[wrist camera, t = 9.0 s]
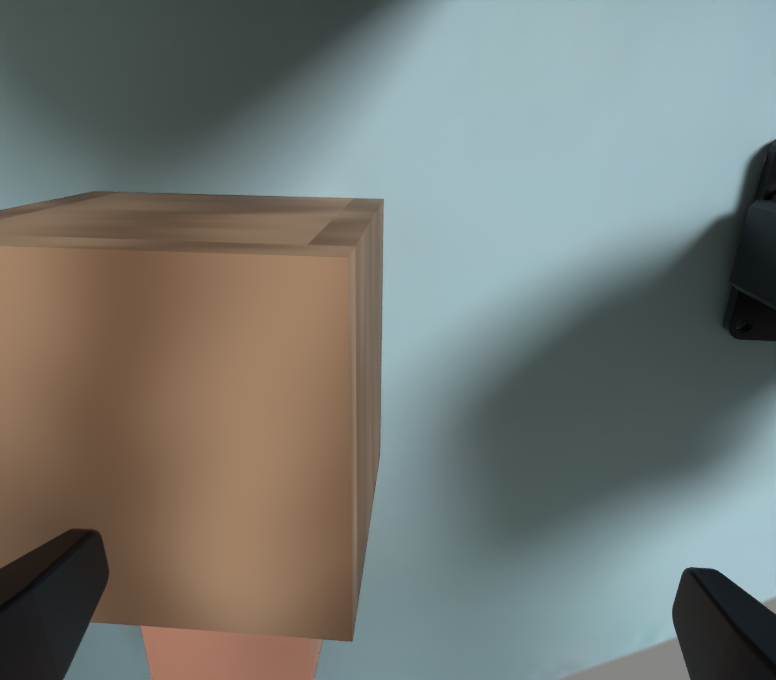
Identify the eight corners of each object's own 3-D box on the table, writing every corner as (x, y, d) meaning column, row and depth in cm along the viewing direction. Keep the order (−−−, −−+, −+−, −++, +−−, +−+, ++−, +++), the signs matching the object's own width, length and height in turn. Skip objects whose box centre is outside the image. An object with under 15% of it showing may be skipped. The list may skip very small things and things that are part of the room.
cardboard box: (383, 199, 18) (348, 258, 10) (380, 454, 22) (352, 641, 14) (93, 191, 19) (-152, 241, 11) (138, 441, 22) (-20, 613, 14)
